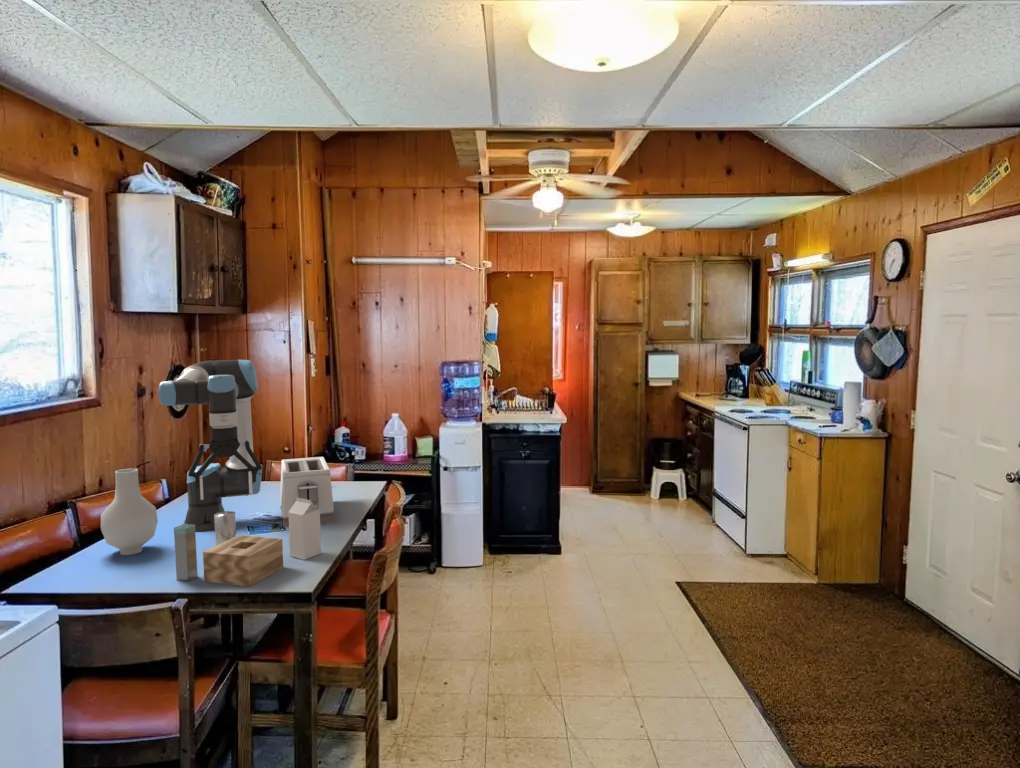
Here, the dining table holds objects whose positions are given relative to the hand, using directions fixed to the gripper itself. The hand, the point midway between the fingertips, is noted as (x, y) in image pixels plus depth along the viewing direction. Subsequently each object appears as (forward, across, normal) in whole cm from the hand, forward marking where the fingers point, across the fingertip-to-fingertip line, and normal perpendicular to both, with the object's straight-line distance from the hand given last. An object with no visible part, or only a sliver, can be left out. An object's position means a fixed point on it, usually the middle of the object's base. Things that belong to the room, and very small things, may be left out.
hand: (226, 495), depth 194 cm
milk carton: (+25, +23, +7) cm, 35 cm away
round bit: (+25, 0, +20) cm, 32 cm away
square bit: (+25, -12, +4) cm, 28 cm away
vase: (+25, -29, +39) cm, 54 cm away
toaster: (+25, +31, +56) cm, 69 cm away
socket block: (+25, +4, -1) cm, 25 cm away
